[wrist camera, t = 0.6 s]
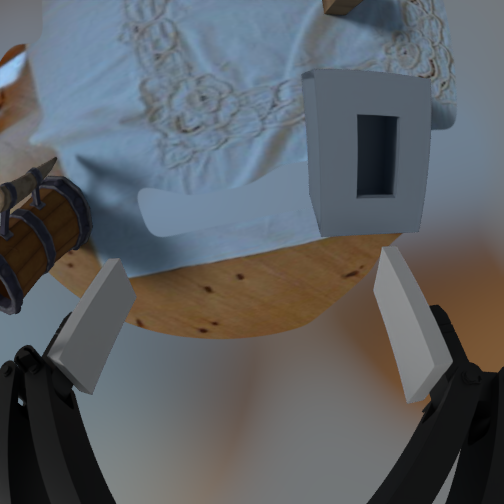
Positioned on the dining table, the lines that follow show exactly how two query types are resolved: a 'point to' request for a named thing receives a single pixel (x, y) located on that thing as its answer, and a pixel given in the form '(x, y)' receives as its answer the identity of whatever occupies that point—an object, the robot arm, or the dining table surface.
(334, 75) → the coin box
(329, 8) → the brown wooden block
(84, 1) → the dining table surface
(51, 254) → the mug
